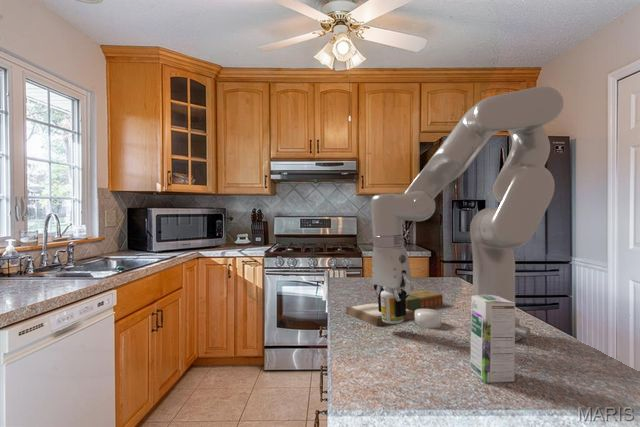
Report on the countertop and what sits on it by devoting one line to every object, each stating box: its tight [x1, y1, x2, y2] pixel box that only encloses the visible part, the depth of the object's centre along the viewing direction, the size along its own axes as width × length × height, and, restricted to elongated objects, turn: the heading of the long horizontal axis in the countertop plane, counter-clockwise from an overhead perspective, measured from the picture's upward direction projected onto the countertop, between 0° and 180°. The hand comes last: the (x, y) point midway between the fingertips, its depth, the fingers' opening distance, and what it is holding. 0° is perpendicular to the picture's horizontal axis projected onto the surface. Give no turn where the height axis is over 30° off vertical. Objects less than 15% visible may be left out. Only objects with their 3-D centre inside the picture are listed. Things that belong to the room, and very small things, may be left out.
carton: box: [406, 289, 444, 312], centre depth 118 cm, size 8×16×4 cm, turn 121°
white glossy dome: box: [414, 308, 443, 329], centre depth 98 cm, size 7×7×4 cm
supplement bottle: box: [381, 286, 404, 324], centre depth 92 cm, size 5×5×10 cm
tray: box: [345, 301, 415, 327], centre depth 106 cm, size 14×14×2 cm
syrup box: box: [470, 295, 516, 384], centre depth 67 cm, size 6×6×14 cm
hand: (392, 312), depth 92 cm, fingers closed on supplement bottle, 5 cm apart
